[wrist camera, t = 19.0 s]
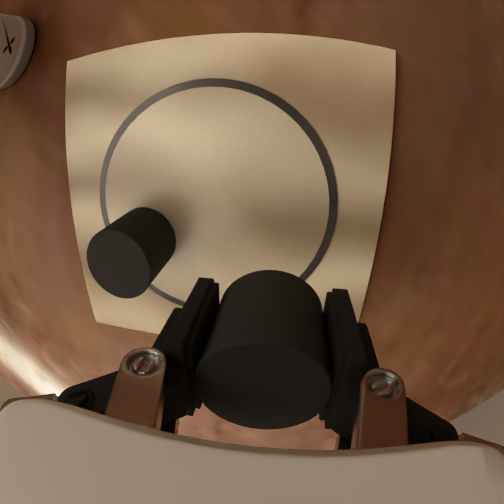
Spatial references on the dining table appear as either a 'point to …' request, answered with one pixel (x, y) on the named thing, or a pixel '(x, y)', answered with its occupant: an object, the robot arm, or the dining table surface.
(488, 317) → the dining table surface
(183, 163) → the drawing board
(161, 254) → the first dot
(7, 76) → the travel mug
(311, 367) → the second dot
